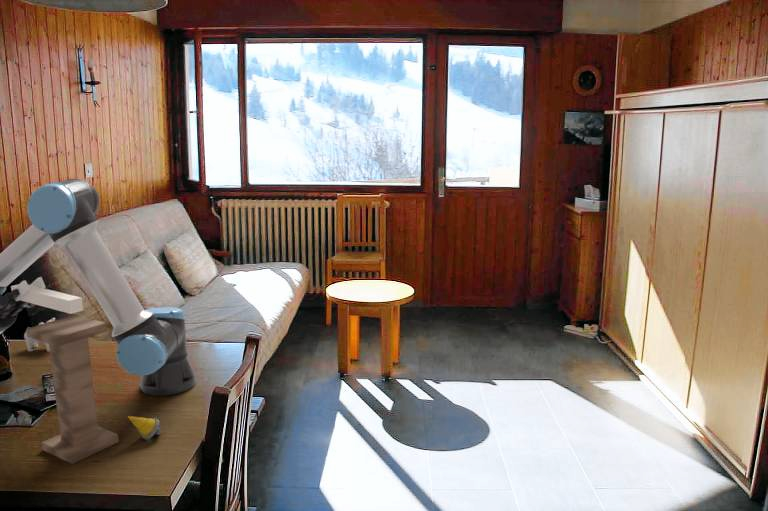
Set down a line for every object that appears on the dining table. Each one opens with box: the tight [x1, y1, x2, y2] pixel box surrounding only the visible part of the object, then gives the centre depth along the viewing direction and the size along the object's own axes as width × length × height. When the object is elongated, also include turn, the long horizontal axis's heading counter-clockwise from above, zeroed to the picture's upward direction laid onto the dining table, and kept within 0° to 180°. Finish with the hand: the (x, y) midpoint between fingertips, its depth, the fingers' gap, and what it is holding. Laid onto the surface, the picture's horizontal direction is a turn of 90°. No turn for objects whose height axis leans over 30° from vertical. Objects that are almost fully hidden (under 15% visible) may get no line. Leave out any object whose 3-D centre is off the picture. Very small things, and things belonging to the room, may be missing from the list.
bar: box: [10, 284, 84, 315], centre depth 154 cm, size 24×3×3 cm, turn 57°
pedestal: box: [25, 314, 120, 465], centre depth 155 cm, size 12×12×30 cm
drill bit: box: [127, 415, 162, 441], centre depth 161 cm, size 5×5×10 cm
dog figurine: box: [23, 317, 56, 353], centre depth 222 cm, size 5×13×11 cm, turn 88°
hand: (34, 284), depth 156 cm, fingers closed on bar, 3 cm apart
